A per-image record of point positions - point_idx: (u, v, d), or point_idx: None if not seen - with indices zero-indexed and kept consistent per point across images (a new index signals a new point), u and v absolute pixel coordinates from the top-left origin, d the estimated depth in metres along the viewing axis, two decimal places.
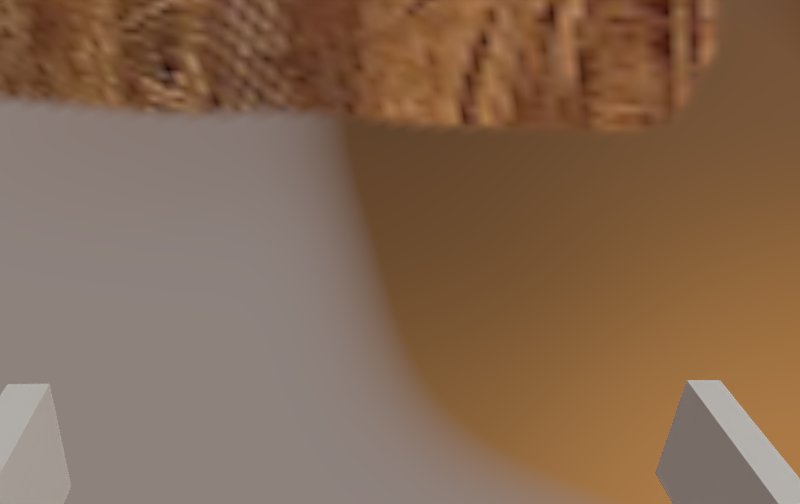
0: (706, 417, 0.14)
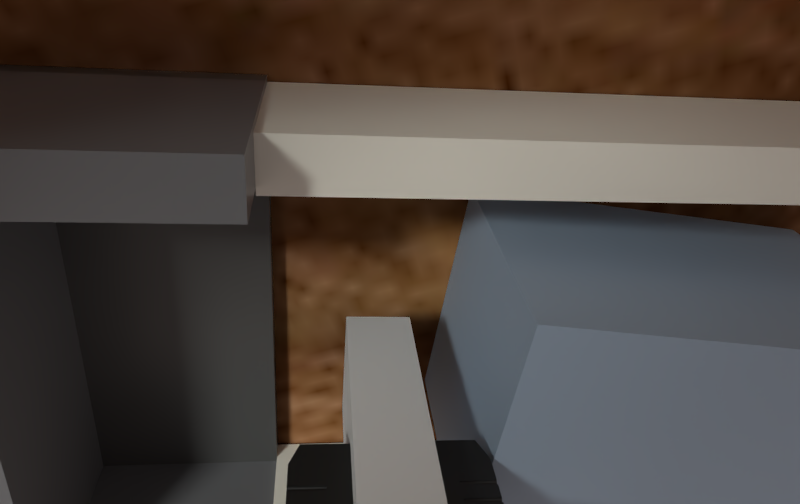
0: (380, 347, 0.15)
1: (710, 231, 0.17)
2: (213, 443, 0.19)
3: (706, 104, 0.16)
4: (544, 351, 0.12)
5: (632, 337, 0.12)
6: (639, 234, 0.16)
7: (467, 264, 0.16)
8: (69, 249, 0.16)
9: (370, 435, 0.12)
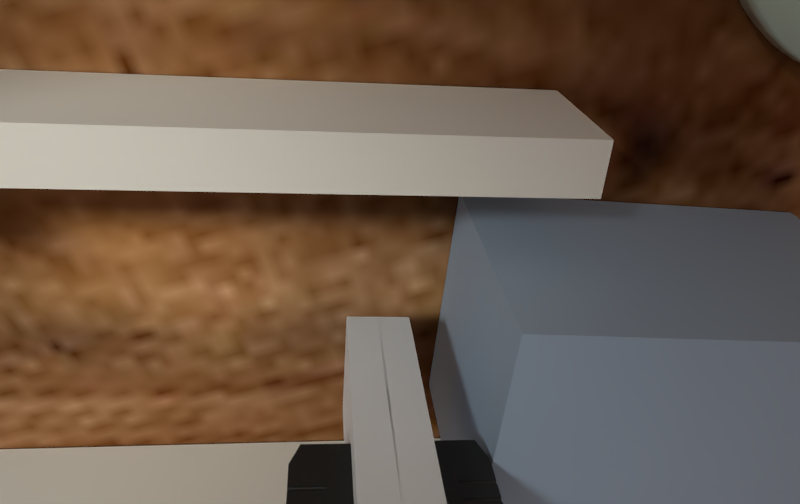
0: (379, 347, 0.15)
1: (706, 222, 0.17)
2: None
3: (340, 89, 0.15)
4: (531, 360, 0.12)
5: (620, 340, 0.12)
6: (632, 230, 0.16)
7: (460, 271, 0.16)
8: None
9: (370, 435, 0.12)
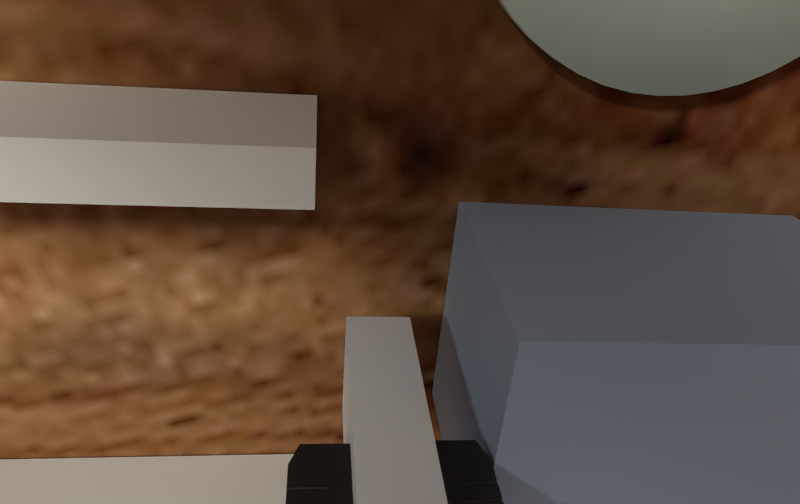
0: (380, 347, 0.15)
1: (705, 224, 0.17)
2: None
3: (70, 91, 0.14)
4: (529, 367, 0.12)
5: (618, 345, 0.12)
6: (630, 234, 0.16)
7: (459, 277, 0.16)
8: None
9: (370, 435, 0.12)
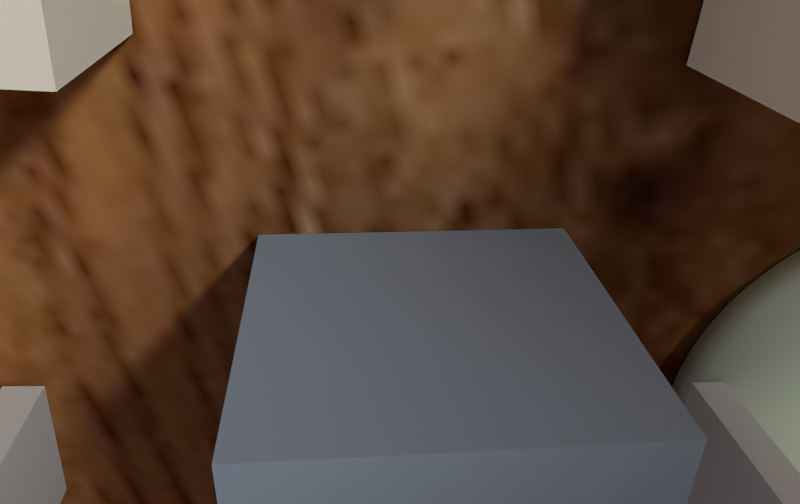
0: (712, 419, 0.14)
1: None
2: None
3: None
4: (660, 457, 0.08)
5: None
6: None
7: (504, 259, 0.12)
8: None
9: None
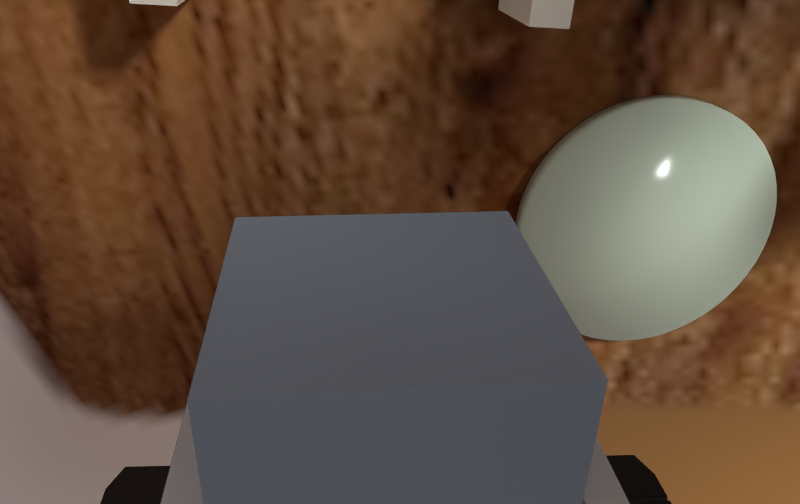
0: None
1: None
2: None
3: None
4: (569, 396, 0.10)
5: (585, 469, 0.11)
6: None
7: (453, 239, 0.14)
8: None
9: (191, 458, 0.11)
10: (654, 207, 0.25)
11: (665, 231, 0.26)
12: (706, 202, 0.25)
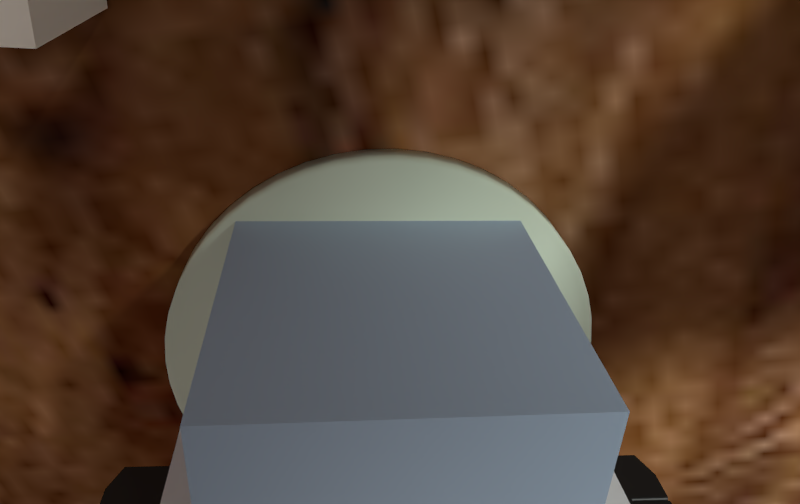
0: None
1: None
2: None
3: None
4: (588, 427, 0.09)
5: (601, 502, 0.10)
6: None
7: (463, 249, 0.13)
8: None
9: None
10: None
11: None
12: None
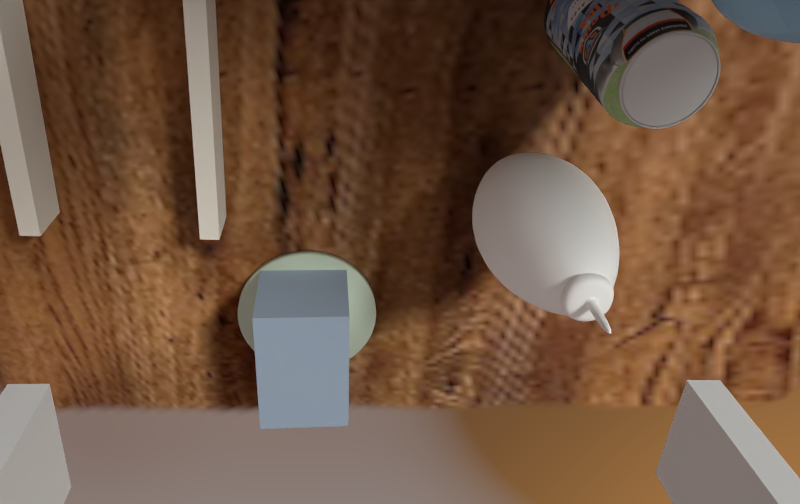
0: (706, 417, 0.14)
1: None
2: None
3: (221, 148, 0.43)
4: (340, 320, 0.43)
5: (348, 339, 0.43)
6: None
7: (325, 279, 0.46)
8: None
9: None
10: None
11: None
12: None
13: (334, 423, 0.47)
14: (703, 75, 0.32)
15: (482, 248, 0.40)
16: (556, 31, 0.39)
